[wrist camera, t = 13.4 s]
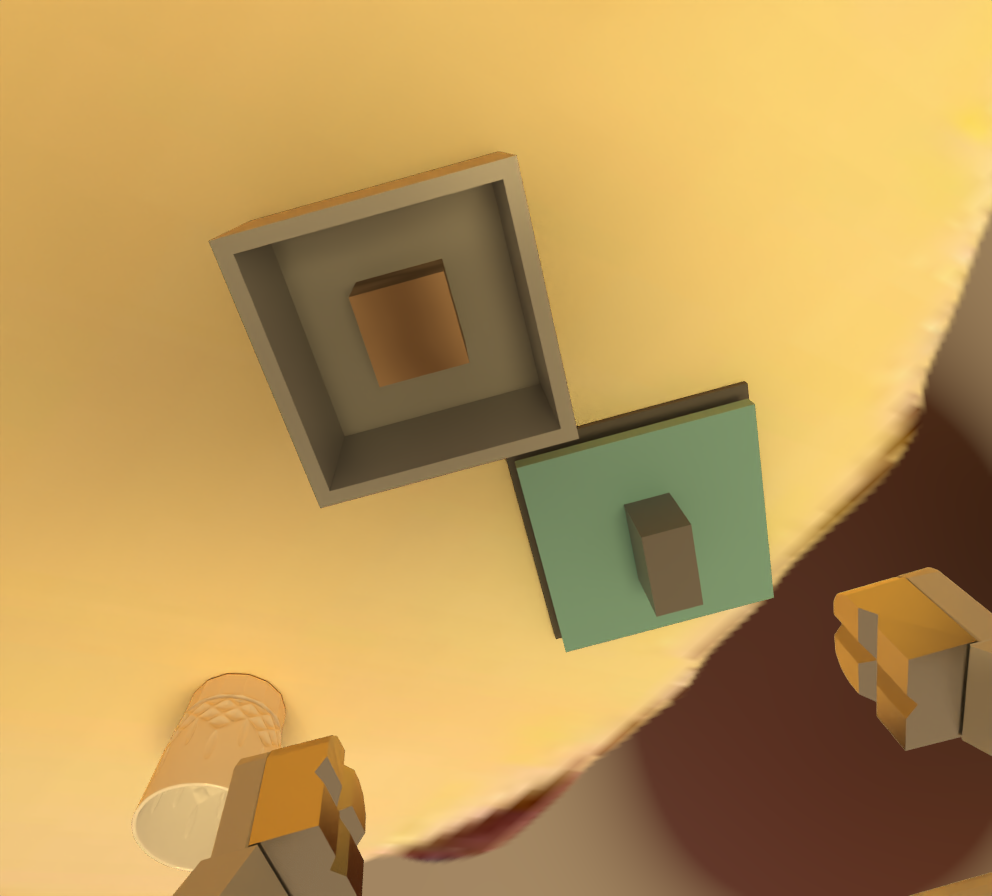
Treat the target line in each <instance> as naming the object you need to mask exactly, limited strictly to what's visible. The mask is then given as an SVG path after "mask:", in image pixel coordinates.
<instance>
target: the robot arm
mask: <svg viewBox="0 0 992 896" xmlns="http://www.w3.org/2000/svg"><path fill="white" fill-rule="evenodd" d="M834 615H835V616H836V617H837V618H838V619H839V620H840V621H841V623H842V625H841V626H840V628H839V629H838V631H837V633H836V634H835V635H834V637H835V650H836V654H837V657H838V660H839V663H840V666H841V669H842V671H843V672H844V674H845V676H846V677H847V679H848V681H849V682H850V684H851V685H852V686H853V687H854V689H855V690H856V691H857V692H858V694H860V695H862V696H864V697H867V698H869V699H871V700H874V701H876V702H877V717H878V718H879V719H880V720H881V722H882V723H883V724H884V725H885V727H886V728H887V729H888V730H889V731H890V733H891V734H892V735H893V736H894V738H895V739H896V740H897V741H898V742H899V744H900V745H901V746H902V747H903V748H904V750H910V749H914V748H918V747H922V746H926V745H930V744H934V743H938V742H942V741H946V740H950V739H954V738H958V737H962V740H963V741H965V742H967V743H969V744H971V745H973V746H974V747H976V748H978V749H980V750H982V751H984V752H986V753H987V754H989V755H991V756H992V613H991V612H989V611H988V610H987V609H986V608H984V607H983V606H982V605H981V604H979V603H978V602H977V601H976V600H974V599H973V598H972V597H971V596H970V595H968V594H967V593H966V592H965V591H963V590H962V589H961V588H960V587H958V586H957V585H956V584H954V583H953V582H952V581H951V580H950V579H948V578H947V577H946V576H944V575H943V574H942V573H941V572H940V571H938V570H936V569H933V568H930V567H928V568H924V569H921V570H917V571H914V572H910V573H907V574H904V575H900V576H898V577H895V578H890V579H887V580H883V581H880V582H877V583H873V584H870V585H866V586H863V587H859V588H856V589H852V590H849V591H845V592H842V593H839V594H837V595H836V597H835V600H834ZM344 755H345V750H344V748H343V746H342V744H341V742H340V740H339V739H338V737H337V736H333V735H331V736H327V737H323V738H319V739H315V740H311V741H307V742H303V743H299V744H295V745H291V746H287V747H283V748H279V749H275V750H272V751H271V752H267V753H263V754H259V755H255V756H250V757H246V758H242V759H240V761H239V762H238V763H237V765H236V766H235V768H234V770H233V774H232V778H231V782H230V785H229V789H228V793H227V797H226V801H225V805H224V808H223V812H222V816H221V820H220V824H219V828H218V831H217V835H216V839H215V843H214V847H213V850H212V854H211V858H208V859H205V860H201V861H200V862H199V864H198V865H197V866H196V867H195V869H194V870H193V871H192V872H191V874H190V875H189V876H188V877H187V878H186V880H185V881H184V882H183V883H182V885H181V886H180V887H179V888H178V890H177V891H176V892H175V893H174V894H173V896H362V885H363V867H364V860H363V858H362V856H361V854H360V852H359V850H358V848H357V845H358V843H359V842H360V840H361V839H362V837H363V835H364V834H365V821H366V813H365V805H364V797H363V792H362V789H361V785H360V782H359V779H358V777H357V775H356V773H355V771H354V770H353V769H351V768H349V767H347V766H345V765H344ZM910 896H992V872H991V873H987V874H984V875H980V876H977V877H973V878H970V879H966V880H963V881H959V882H956V883H952V884H949V885H945V886H942V887H938V888H935V889H931V890H928V891H924V892H921V893H918V894H914V895H910Z"/></svg>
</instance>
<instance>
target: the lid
mask: <svg viewBox="0 0 992 896" xmlns="http://www.w3.org/2000/svg"><path fill="white" fill-rule="evenodd" d="M515 464H516V468H517V472H518V476H519V479H520V483H521V487H522V490H523V494H524V498H525V502H526V505H527V509H528V513H529V516H530V520H531V524H532V528H533V531H534V535H535V539H536V542H537V546H538V550H539V554H540V557H541V561H542V565H543V569H544V572H545V576H546V580H547V583H548V587H549V591H550V595H551V598H552V602H553V606H554V609H555V613H556V617H557V621H558V624H559V628H560V632H561V635H562V639H563V643H564V646H565V650H566V652H569V651H573V650H577V649H580V648H584V647H588V646H592V645H596V644H599V643H603V642H607V641H611V640H615V639H618V638H622V637H626V636H630V635H634V634H637V633H641V632H645V631H649V630H653V629H656V628H660V627H664V626H668V625H672V624H675V623H679V622H683V621H687V620H691V619H694V618H698V617H702V616H706V615H710V614H713V613H717V612H721V611H725V610H729V609H732V608H736V607H740V606H744V605H748V604H751V603H755V602H759V601H763V600H767V599H770V598H774V595H773V585H772V575H771V564H770V554H769V544H768V534H767V524H766V513H765V503H764V493H763V483H762V472H761V462H760V452H759V442H758V431H757V421H756V411H755V404H754V403H753V402H752V401H750V400H749V399H744V400H741V401H737V402H733V403H729V404H726V405H722V406H718V407H715V408H711V409H707V410H703V411H700V412H696V413H692V414H689V415H685V416H681V417H677V418H674V419H670V420H666V421H663V422H659V423H655V424H651V425H648V426H644V427H640V428H637V429H633V430H629V431H625V432H622V433H618V434H614V435H611V436H607V437H603V438H599V439H596V440H592V441H588V442H584V443H581V444H577V445H573V446H570V447H566V448H562V449H558V450H555V451H551V452H547V453H544V454H540V455H536V456H532V457H529V458H525V459H521V460H518V461H515Z"/></svg>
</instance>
